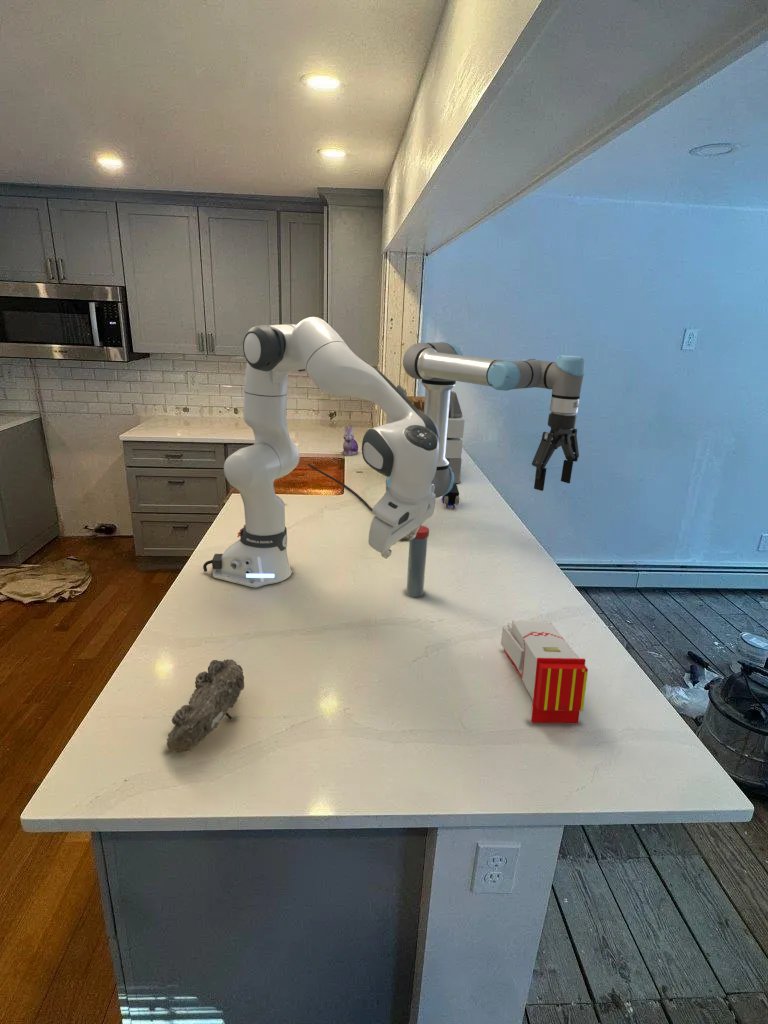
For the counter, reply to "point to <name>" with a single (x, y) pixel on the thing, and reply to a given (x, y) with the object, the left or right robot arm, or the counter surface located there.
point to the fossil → (206, 705)
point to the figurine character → (451, 497)
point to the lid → (422, 532)
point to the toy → (547, 670)
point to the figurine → (349, 442)
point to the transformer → (453, 430)
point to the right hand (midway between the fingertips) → (552, 485)
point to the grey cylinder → (416, 567)
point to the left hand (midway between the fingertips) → (398, 546)
